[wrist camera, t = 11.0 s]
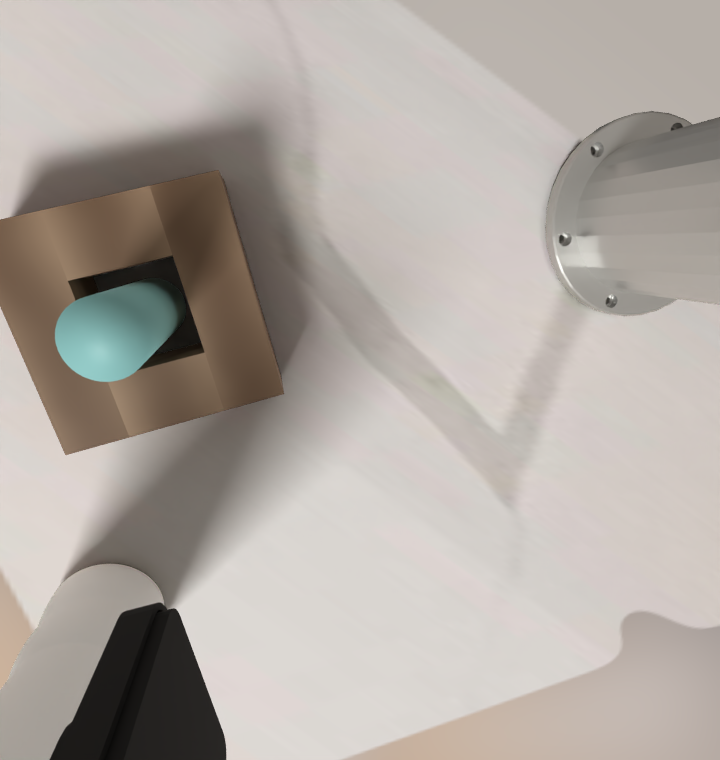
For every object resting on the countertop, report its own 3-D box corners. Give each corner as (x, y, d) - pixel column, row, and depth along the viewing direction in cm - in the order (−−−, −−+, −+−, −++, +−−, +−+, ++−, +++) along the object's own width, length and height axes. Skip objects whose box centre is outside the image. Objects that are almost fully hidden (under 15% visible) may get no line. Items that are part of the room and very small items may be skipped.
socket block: (223, 179, 30) (218, 170, 26) (281, 376, 33) (283, 393, 29) (5, 229, 28) (-35, 227, 24) (88, 430, 32) (65, 455, 28)
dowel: (175, 271, 30) (131, 285, 20) (193, 327, 31) (161, 368, 21) (116, 286, 30) (40, 307, 20) (136, 342, 31) (74, 391, 20)
